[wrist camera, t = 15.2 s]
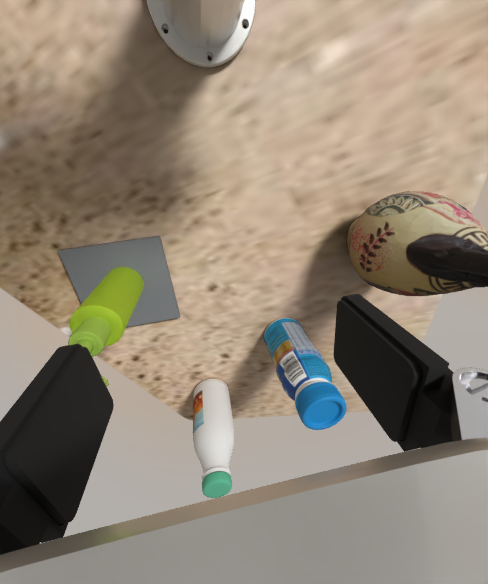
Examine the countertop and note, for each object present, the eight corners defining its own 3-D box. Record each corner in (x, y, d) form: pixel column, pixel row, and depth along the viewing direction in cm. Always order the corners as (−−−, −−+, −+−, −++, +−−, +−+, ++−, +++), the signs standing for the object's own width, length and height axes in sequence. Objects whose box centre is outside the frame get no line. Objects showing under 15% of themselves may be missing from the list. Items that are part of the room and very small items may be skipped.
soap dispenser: (124, 309, 44) (74, 404, 26) (97, 276, 41) (20, 359, 23) (154, 294, 43) (124, 380, 26) (129, 260, 40) (76, 331, 23)
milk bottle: (211, 371, 54) (218, 469, 37) (235, 388, 58) (252, 485, 40) (186, 392, 56) (181, 496, 38) (210, 407, 59) (216, 509, 41)
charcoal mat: (61, 249, 39) (57, 251, 38) (159, 235, 40) (158, 237, 40) (96, 329, 46) (94, 332, 45) (180, 314, 47) (179, 317, 46)
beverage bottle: (301, 312, 52) (356, 387, 34) (301, 345, 55) (350, 428, 38) (261, 319, 51) (296, 399, 33) (263, 352, 54) (296, 440, 37)
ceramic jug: (426, 208, 46) (739, 260, 20) (378, 281, 51) (573, 401, 25) (354, 167, 41) (648, 163, 14) (309, 254, 46) (462, 368, 20)
